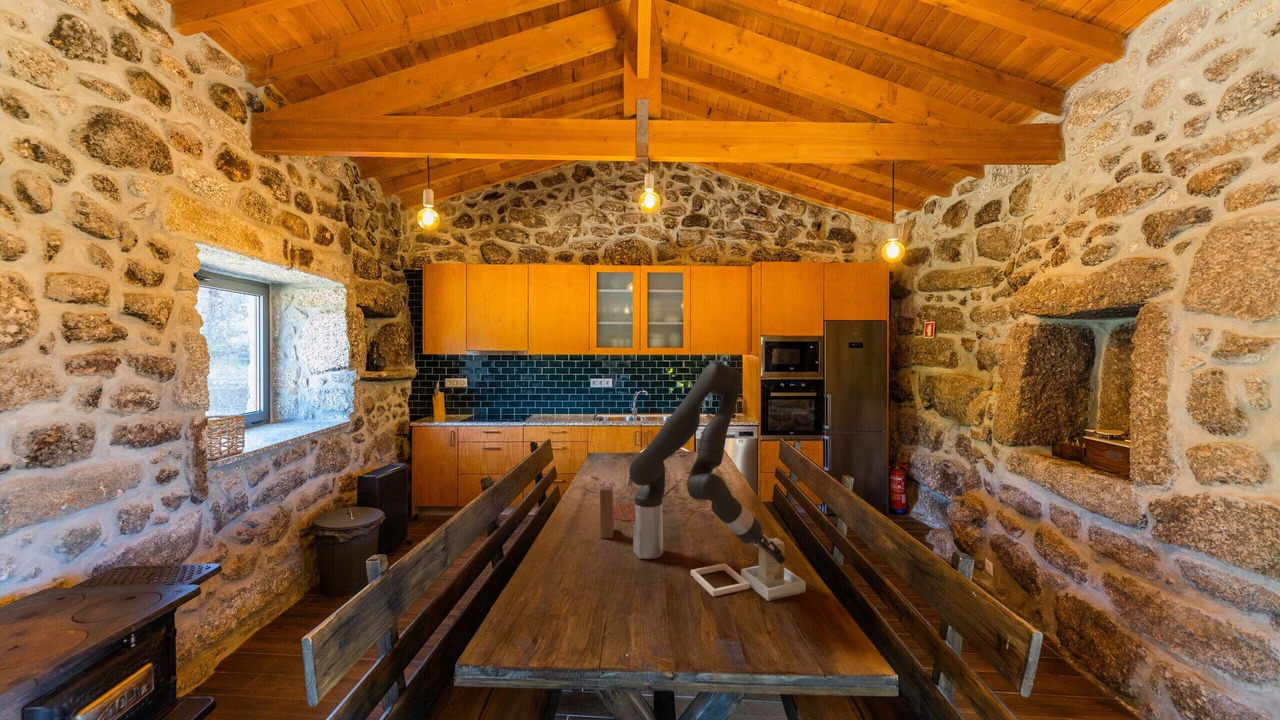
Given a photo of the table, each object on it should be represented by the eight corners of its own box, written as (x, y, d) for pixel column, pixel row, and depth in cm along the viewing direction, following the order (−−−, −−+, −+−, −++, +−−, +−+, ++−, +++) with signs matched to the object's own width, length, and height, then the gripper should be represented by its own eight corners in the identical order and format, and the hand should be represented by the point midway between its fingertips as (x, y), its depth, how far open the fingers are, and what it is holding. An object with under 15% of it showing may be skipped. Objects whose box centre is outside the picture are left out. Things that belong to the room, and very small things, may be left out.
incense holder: (604, 507, 217) (604, 481, 217) (671, 501, 223) (671, 477, 223) (611, 524, 196) (610, 496, 196) (684, 518, 202) (684, 491, 202)
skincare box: (766, 587, 143) (766, 545, 142) (757, 580, 147) (757, 540, 146) (785, 584, 145) (785, 542, 144) (776, 577, 149) (776, 536, 148)
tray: (768, 600, 137) (768, 590, 137) (741, 579, 150) (741, 569, 150) (805, 592, 142) (805, 581, 141) (776, 571, 154) (776, 561, 154)
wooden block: (602, 529, 191) (601, 482, 190) (613, 529, 191) (613, 482, 190) (600, 538, 182) (599, 489, 181) (612, 538, 182) (612, 489, 181)
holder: (713, 596, 140) (713, 591, 140) (690, 574, 153) (690, 569, 153) (749, 588, 144) (749, 583, 144) (724, 567, 157) (724, 563, 157)
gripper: (764, 520, 135) (801, 557, 140) (736, 504, 149) (770, 538, 154) (747, 542, 134) (785, 579, 139) (720, 524, 147) (755, 558, 152)
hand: (777, 557), depth 146 cm, fingers open, 4 cm apart
